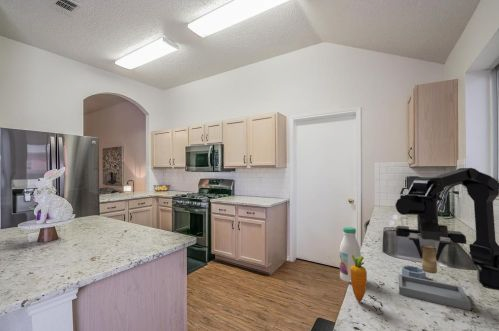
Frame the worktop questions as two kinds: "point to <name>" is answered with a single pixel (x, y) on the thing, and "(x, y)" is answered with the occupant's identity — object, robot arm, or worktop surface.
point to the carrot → (358, 278)
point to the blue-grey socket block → (413, 272)
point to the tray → (434, 291)
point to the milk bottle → (348, 252)
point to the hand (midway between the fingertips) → (429, 259)
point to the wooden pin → (429, 259)
